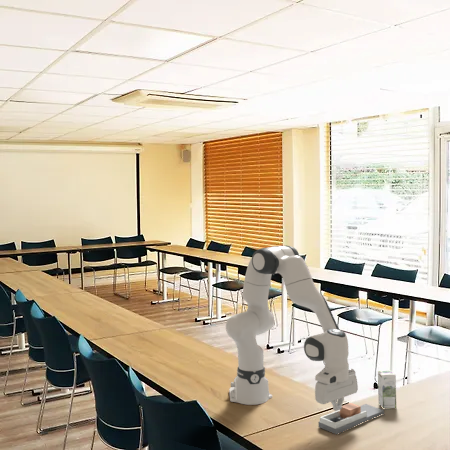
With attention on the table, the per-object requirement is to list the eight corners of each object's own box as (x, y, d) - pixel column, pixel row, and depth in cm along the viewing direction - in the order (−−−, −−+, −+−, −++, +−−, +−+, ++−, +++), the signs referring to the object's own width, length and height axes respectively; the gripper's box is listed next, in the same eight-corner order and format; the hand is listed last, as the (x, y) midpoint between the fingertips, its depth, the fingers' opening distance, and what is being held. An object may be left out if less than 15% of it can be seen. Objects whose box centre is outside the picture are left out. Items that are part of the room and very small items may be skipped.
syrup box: (392, 404, 237) (391, 369, 236) (397, 409, 231) (395, 373, 230) (378, 405, 237) (377, 370, 236) (383, 410, 231) (381, 374, 230)
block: (350, 420, 216) (350, 410, 216) (340, 416, 220) (340, 406, 220) (360, 416, 220) (360, 406, 219) (350, 412, 224) (350, 402, 223)
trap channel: (336, 434, 208) (336, 424, 208) (318, 426, 216) (318, 416, 215) (384, 415, 226) (384, 405, 225) (365, 408, 233) (365, 399, 232)
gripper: (348, 365, 223) (349, 400, 223) (311, 377, 210) (312, 414, 211) (361, 369, 218) (362, 405, 218) (324, 381, 205) (325, 419, 206)
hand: (337, 409), depth 214 cm, fingers closed
